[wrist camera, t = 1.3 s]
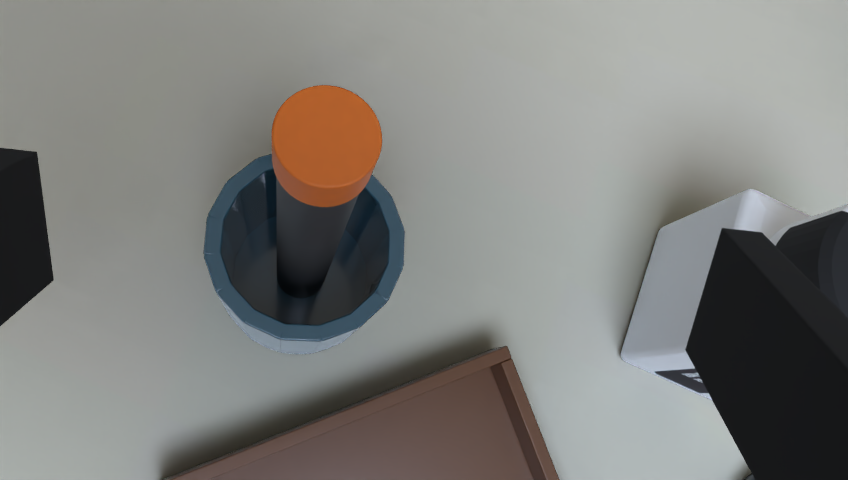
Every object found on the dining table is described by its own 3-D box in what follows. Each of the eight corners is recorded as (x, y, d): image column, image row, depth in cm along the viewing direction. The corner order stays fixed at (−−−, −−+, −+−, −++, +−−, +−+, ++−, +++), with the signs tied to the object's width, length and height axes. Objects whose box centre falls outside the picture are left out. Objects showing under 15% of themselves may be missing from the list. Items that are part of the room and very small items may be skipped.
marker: (267, 259, 32) (256, 99, 15) (317, 242, 33) (360, 72, 16) (284, 307, 32) (293, 202, 15) (334, 290, 33) (398, 169, 15)
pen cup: (201, 231, 33) (178, 180, 25) (346, 186, 35) (365, 126, 27) (250, 377, 32) (241, 370, 24) (396, 323, 34) (432, 301, 26)
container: (747, 417, 36) (992, 427, 24) (615, 359, 35) (798, 338, 23) (780, 283, 38) (1021, 228, 26) (657, 225, 38) (845, 140, 25)
